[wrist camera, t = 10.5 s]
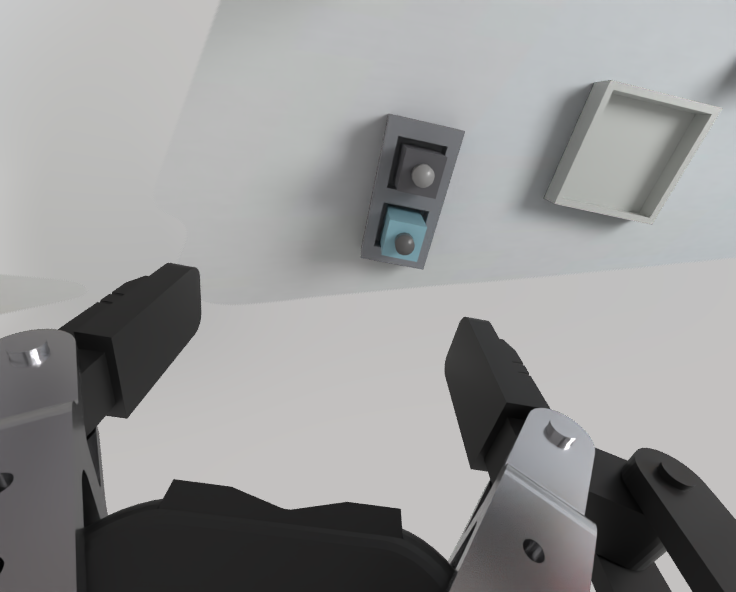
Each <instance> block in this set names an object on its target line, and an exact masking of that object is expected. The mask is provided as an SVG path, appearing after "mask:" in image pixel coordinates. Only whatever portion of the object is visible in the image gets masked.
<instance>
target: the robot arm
mask: <svg viewBox="0 0 736 592" xmlns="http://www.w3.org/2000/svg"><path fill="white" fill-rule="evenodd" d="M200 320H201V293H200V274H199V271H198V269H197V268H195V267H190V266H184V265H179V264H173V263H167V264H165V265H164V266H162V267H161V268H160V269H158V270H157V271H155V272H154V273H153V274H151V275H150V276H143V277H140V278H138V279H135V280H132V281H129V282H126V283H125V284H123V285H122V286H120V287H119V288H117V289H116V290H115V291H113V292H112V294H109V295H107V296H106V297H104V298H103V299H102V300H101V301H100V303H99V302H97V303H96V304H94V305H93V306H91V307H90V308H88V309H87V310H85V311H84V312H82V313H81V314H80V315H78V316H77V317H75V318H74V319H72V320H71V321H69V322H68V323H66V324H65V325H64V326H62V327H61V328H59V329H58V330H56V329H37V330H29V331H24V332H19V333H15V334H12V335H9V336H6V337H3V338H1V339H0V592H590V585H591V581H592V583H593V585H594V588H595V590H596V592H671V590H670V588H669V587H668V585H667V583H666V581H665V580H664V578H663V576H662V574H661V573H660V571H659V569H658V568H657V566H656V564H655V563H654V561H655V560H657V559H658V558H659V557H660V556H662V555H663V554H664V553H665V552H666V551H667V552H668V553H669V555H670V556H671V558H672V559H673V561H674V563H675V564H676V566H677V568H678V569H679V571H680V572H681V574H682V576H683V577H684V579H685V580H686V582H687V583H688V585H689V587H690V588H691V590H692V592H736V519H735V518H734V517H733V516H732V515H731V514H730V512H729V511H728V510H727V509H726V508H725V507H724V505H723V504H722V503H721V502H720V500H719V499H718V498H717V497H716V496H715V495H714V493H713V492H712V491H711V490H710V489H709V488H708V486H707V485H706V484H705V483H704V482H703V481H702V480H701V479H700V478H699V477H698V476H697V475H696V474H695V473H694V472H693V471H692V470H690V469H689V468H688V467H687V466H685V465H684V464H682V463H681V462H679V461H678V460H676V459H675V458H673V457H671V456H669V455H667V454H665V453H663V452H660V451H658V450H654V449H650V448H641V449H638V450H637V451H636V452H635V453H634V454H633V455H632V457H631V458H630V459H629V460H628V461H627V460H624V459H622V458H619V457H617V456H615V455H612V454H609V453H607V452H605V451H602V450H599V449H597V448H595V447H594V444H593V442H592V440H591V438H590V436H589V435H588V434H587V433H586V431H585V430H584V429H583V428H582V427H581V426H580V425H578V424H577V423H576V422H575V421H573V420H572V419H570V418H569V417H567V416H566V415H564V414H562V413H560V412H557V411H555V410H551V409H550V408H549V406H548V404H547V402H546V401H545V399H544V398H543V396H542V394H541V392H540V391H539V389H538V387H537V386H536V384H535V383H534V381H533V379H532V378H531V376H529V372H528V371H527V369H526V367H525V366H523V363H522V361H521V359H520V357H519V356H518V354H517V353H516V351H515V350H514V349H513V348H512V347H511V346H509V344H507V343H506V342H505V341H504V340H503V339H499V338H498V336H497V334H496V332H495V331H494V328H493V327H492V325H491V323H490V322H489V321H486V320H480V319H474V318H469V317H463V319H462V320H461V321H460V323H459V326H458V328H457V331H456V333H455V336H454V339H453V341H452V344H451V346H450V349H449V351H448V354H447V357H446V361H445V377H446V381H447V384H448V388H449V392H450V395H451V399H452V402H453V406H454V410H455V413H456V417H457V420H458V424H459V428H460V432H461V435H462V439H463V442H464V446H465V450H466V453H467V457H468V461H469V464H470V468H471V469H474V470H482V471H488V473H489V476H490V481H489V482H488V484H487V486H486V487H485V489H484V492H483V493H482V496H481V498H480V499H479V501H478V503H477V506H476V507H475V509H474V511H473V513H472V516H471V517H470V519H469V521H468V523H467V525H466V527H465V529H464V531H463V533H462V535H461V537H460V539H459V541H458V543H457V545H456V547H455V549H454V551H453V553H452V555H451V556H450V558H449V560H448V561H447V560H446V559H445V558H444V557H443V556H442V555H441V554H439V552H437V551H436V550H435V549H434V548H433V547H431V546H430V545H429V544H428V543H426V542H425V541H424V540H422V539H421V538H419V537H417V536H416V535H414V534H412V533H410V532H409V531H406V530H404V529H402V521H401V509H398V508H390V507H382V506H375V505H367V504H359V503H351V502H343V503H336V504H329V505H322V506H315V507H307V508H300V509H293V510H288V509H283V508H280V507H277V506H275V505H273V504H271V503H268V502H266V501H264V500H261V499H259V498H256V497H254V496H251V495H249V494H247V493H245V492H243V491H240V490H238V489H235V488H233V487H229V486H221V485H214V484H205V483H198V482H190V481H183V480H175V479H174V480H173V482H172V483H171V485H170V487H169V489H168V491H167V492H166V494H165V496H164V498H163V499H159V500H154V501H149V502H145V503H141V504H137V505H134V506H131V507H128V508H125V509H122V510H120V511H117V512H115V513H113V514H111V515H108V513H107V508H106V501H105V492H104V481H103V470H102V460H101V449H100V439H99V431H98V427H97V425H98V424H99V423H100V422H101V420H102V419H103V418H104V417H105V416H112V417H120V418H128V417H129V416H130V414H131V413H132V412H133V410H134V409H135V408H136V407H137V406H138V404H139V403H140V402H141V401H142V399H143V398H144V397H145V396H146V394H147V393H148V392H149V391H150V389H151V388H152V387H153V386H154V384H155V383H156V382H157V381H158V379H159V378H160V377H161V376H162V374H163V373H164V372H165V371H166V369H167V368H168V367H169V366H170V364H171V363H172V362H173V361H174V359H175V358H176V357H177V356H178V354H179V353H180V352H181V351H182V349H183V348H184V347H185V346H186V345H187V343H188V342H189V341H190V340H191V338H192V337H193V336H194V335H195V333H196V332H197V330H198V327H199V324H200Z"/></svg>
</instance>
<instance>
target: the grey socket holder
mask: <svg viewBox="0 0 736 592" xmlns="http://www.w3.org/2000/svg"><path fill="white" fill-rule="evenodd" d="M464 133H465V131H463V130H458V129H454V128H450V127H445V126H441V125H436V124H432V123H428V122H423V121H419V120H415V119H410V118H406V117H402V116H397V115H393V114H388V119H387V124H386V129H385V134H384V139H383V144H382V149H381V154H380V159H379V164H378V169H377V174H376V178H375V183H374V188H373V193H372V198H371V203H370V208H369V213H368V218H367V223H366V228H365V233H364V238H363V243H362V247H361V258H365V259H371V260H376V261H381V262H386V263H391V264H397V265H402V266H407V267H412V268H418V269H424V265H425V262H426V259H427V255H428V252H429V249H430V245H431V242H432V239H433V236H434V232H435V229H436V226H437V222H438V219H439V216H440V212H441V209H442V206H443V202H444V199H445V196H446V193H447V189H448V186H449V183H450V179H451V176H452V173H453V169H454V166H455V163H456V160H457V156H458V153H459V150H460V146H461V143H462V140H463V136H464ZM401 143H406V144H410V145H415V146H419V147H424V148H428V149H432V150H436V151H438V152H440V153H441V154H443V155H445V156H447V157H448V158H447V161H446V165H445V168H444V172H443V175H442V179H441V182H440V186H439V189H438V192H437V196H436V199H433V198H428V197H424V196H419V195H414V194H409V193H405V192H400V191H397V190H396V187H395V183H394V180H393V177H394V173H395V168H396V164H397V159H398V155H399V151H400V146H401ZM387 204H390V205H395V206H400V207H405V208H410V209H414V210H419V211H420V213H421V216H422V218H423V220H424V222H425V224H426V226H427V230H426V233H425V236H424V240H423V243H422V247H421V250H420V253H419V257H418V260H417V262H414V261H409V260H404V259H399V258H394V257H389V256H384V255H381V240H380V233H381V229H382V225H383V220H384V216H385V212H386V207H387Z"/></svg>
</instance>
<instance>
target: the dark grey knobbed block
mask: <svg viewBox="0 0 736 592" xmlns="http://www.w3.org/2000/svg"><path fill="white" fill-rule="evenodd" d="M447 158H448V157H447V156H445V155H443V154H441V153H440V152H438V151H436V150H432V149H428V148H424V147H419V146H415V145H410V144H406V143H401V146H400V151H399V155H398V159H397V164H396V168H395V173H394V177H393V180H394V183H395V187H396V190H397V191H400V192H405V193H409V194H414V195H419V196H424V197H428V198H433V199H436V196H437V192H438V189H439V186H440V182H441V179H442V175H443V172H444V168H445V165H446V161H447Z"/></svg>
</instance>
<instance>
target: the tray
mask: <svg viewBox="0 0 736 592" xmlns="http://www.w3.org/2000/svg"><path fill="white" fill-rule="evenodd" d="M722 109H723V108H720V107H716V106H712V105H708V104H704V103H700V102H696V101H692V100H688V99H684V98H680V97H676V96H672V95H668V94H664V93H660V92H656V91H652V90H648V89H644V88H641V87H637V86H633V85H629V84H625V83H621V82H617V81H613V80H608V81H601V82H595V83H594V85H593V87H592V90H591V92H590V94H589V96H588V99H587V101H586V103H585V106H584V108H583V110H582V112H581V115H580V117H579V119H578V122H577V124H576V126H575V128H574V131H573V133H572V135H571V138H570V140H569V142H568V144H567V147H566V149H565V151H564V154H563V156H562V158H561V160H560V163H559V165H558V167H557V170H556V172H555V174H554V176H553V179H552V181H551V183H550V185H549V188H548V190H547V192H546V195H545V197H544V199H546V200H548V201H550V202H552V203H554V204H558V205H562V206H567V207H572V208H576V209H581V210H585V211H590V212H595V213H599V214H604V215H609V216H613V217H618V218H623V219H627V220H632V221H636V222H641V223H646V224H650V225H652V224H653V222H654V221H655V219H656V217H657V216H658V214H659V212H660V211H661V209H662V207H663V206H664V204H665V202H666V201H667V199H668V198H669V196H670V194H671V193H672V191H673V189H674V188H675V186H676V184H677V183H678V181H679V179H680V178H681V176H682V174H683V173H684V171H685V170H686V168H687V166H688V165H689V163H690V161H691V160H692V158H693V156H694V155H695V153H696V151H697V150H698V148H699V146H700V145H701V143H702V142H703V140H704V138H705V137H706V135H707V133H708V132H709V130H710V128H711V127H712V125H713V123H714V122H715V120H716V118H717V117H718V115H719V114H720V112H721V110H722Z"/></svg>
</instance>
